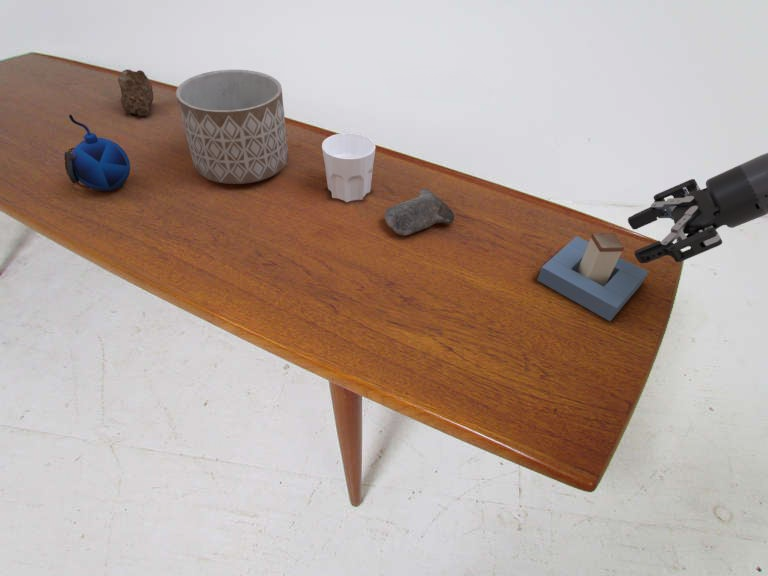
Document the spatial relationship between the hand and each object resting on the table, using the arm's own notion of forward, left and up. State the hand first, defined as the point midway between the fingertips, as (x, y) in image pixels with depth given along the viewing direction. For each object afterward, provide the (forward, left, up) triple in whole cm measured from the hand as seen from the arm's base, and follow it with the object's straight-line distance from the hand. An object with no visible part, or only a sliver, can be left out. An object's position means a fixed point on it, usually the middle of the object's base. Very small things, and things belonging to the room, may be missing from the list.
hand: (633, 240), depth 76 cm
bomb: (+84, +46, -10) cm, 96 cm away
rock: (+111, +24, -10) cm, 114 cm away
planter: (+73, +22, -10) cm, 76 cm away
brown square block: (+3, +2, -10) cm, 10 cm away
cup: (+51, +12, -10) cm, 53 cm away
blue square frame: (+3, +2, -10) cm, 10 cm away
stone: (+35, +10, -10) cm, 37 cm away
